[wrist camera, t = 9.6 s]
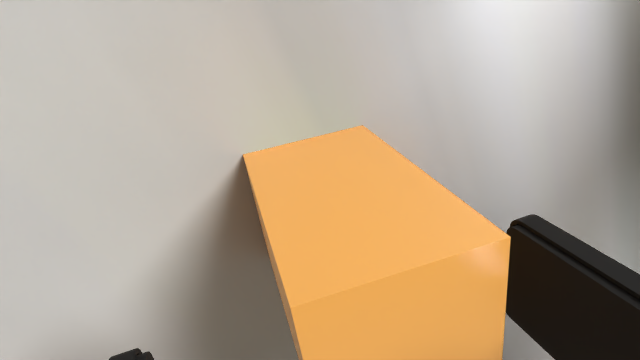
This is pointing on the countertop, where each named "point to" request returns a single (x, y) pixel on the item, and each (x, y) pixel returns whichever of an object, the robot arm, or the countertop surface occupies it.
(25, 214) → the countertop surface
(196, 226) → the countertop surface
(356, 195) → the lockout block
